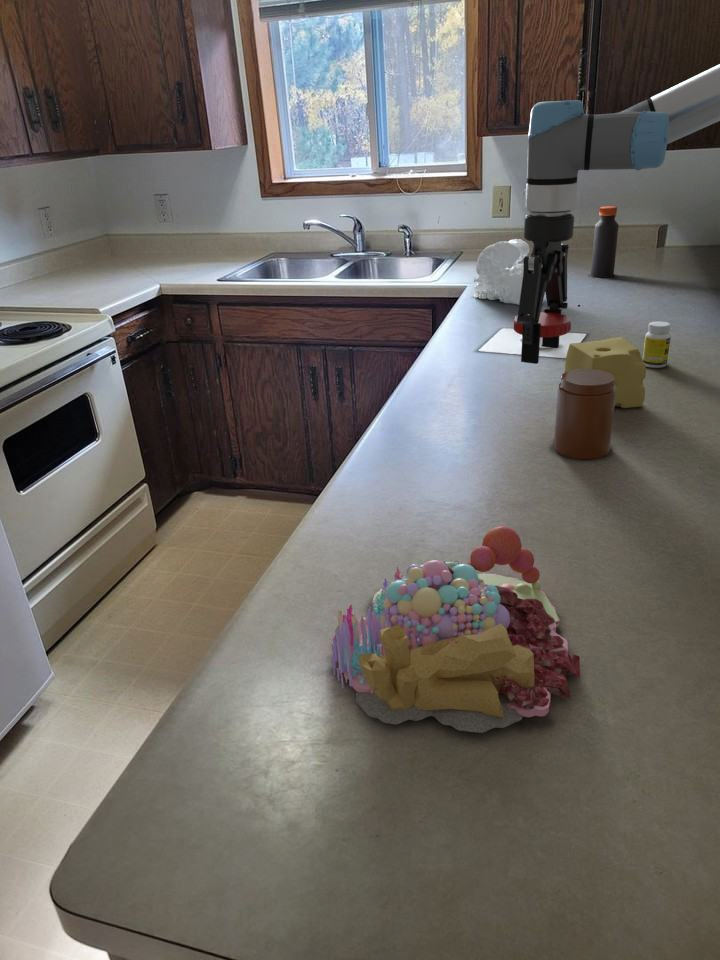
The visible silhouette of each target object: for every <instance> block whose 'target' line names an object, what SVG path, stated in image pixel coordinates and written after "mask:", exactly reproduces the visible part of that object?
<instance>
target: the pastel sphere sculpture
mask: <svg viewBox="0 0 720 960" xmlns="http://www.w3.org/2000/svg"><path fill="white" fill-rule="evenodd" d="M469 559H470V562H469V561H466V562H465V561H464V562H462V561H461V560H452V561H441V560H438V559H432V560H428V561H426V562H424V563H421V564H418V563H417V564H416V563H413V564H410V565H408V567H407V568H406V569H405V575H403V574H402V572H401V570H400V569H399V566H398V565H396V572H395V573H394V575H393V577H394V580H392V581H391V582H388V580H387V579H386V577H385V578H384V582H383V584H382V585H383V586H381V587H380V588H379V590H378V591H377V592H375V593H374V596H373V598H372V599H371V602H372V603H371V605H370V606H369V608H368V609H367V610H366V617H363V615H361V616H360V617H359V619H358V618H357V616H356V614H355V613H354V614H353V605H352V604H353V603H350V605H349V607H348V608H346V614H343V612H342V609H340V608H338V609H337V626H336V628H335V630H334V636H332V644H331V651H332V655H331V659H332V667H333V675H334V676H336V674H337V676H336V677H337V681H338V682H340V681H341V689H342V690H344V689H345V684H344V679H345V683H346V684H347V683H348V682H349V683H348V685H349V687H350V688H352V689H353V690H355V691H356V692H355V701H356V703H357V704H358V705H359V706H360V708H361V709H362V710H363V712H365V714H366V715H367V716H368V717H370V718H376V719H378V720H379V721H380V722H382V723H384V724H391V725H399V724H403V723H404V722H406V721H409V720H410V721H413V722H414V721H415V722H419V721H421V720H424V719H426V718H428V717H433V718H434V719H436V720H437V721H438V722H439V723H440V724H442V725H444V726H451V727H452V728H454V729H455V730H457V731H459V732H469V733H478V734H483V733H486V732H488V731H490V730H492V729H495V728H499V729H504V728H507V727H509V726H511V725H512V724H515V723H517V722H520V721H521V720H522V719H523V717H525V718H532V717H545V716H546V717H547V716H548V714H549V713H550V711H551V709H552V707H553V705H552V703H551V696H552V695H554V696H558V697H561V698H565V699H568V700H570V701H571V700H572V697H571V692H570V687H569V683H568V680H567V678H566V676H567V675H572V676H574V677H576V678H578V679H581V665H580V664H581V661H580V660H581V659H580V656H579V655H577V654H574V653H571V652H570V650H569V645H568V641H569V640H567V639H566V638H564V637H563V636H562V635H560V634H558V633H557V628H558V627H559V626H560V617H559V616H558V614H557V608H556V607H555V606H554V605H552V603H551V601H550V599H549V598H548V597H547V596H546V592H544V591H542V590H541V589H540V588H541V583H540V581H539V579H540V576H541V575H540V574H541V573H540V570H539V569H538V568H537V567H536V566H534V564H535V557H534V554H533V553H532V551H531V550H530V549H528V548H526V547H523V545H522V542H521V537H520V535H519V533H517V532H516V530H514V529H513V528H510V527H508V526H505V525H498V526H495V527H493V528H491V529H489V530H488V531H487V532H486V534H484V536H483V538H482V544H481V545H480V546H477V547H475V548H474V549H472V551H471V553H470V555H469ZM495 565H498V566H507V565H508V566H509V567H510V568H511V569H512V571H513V572H516V573H518V574H521V579H522V580H520V579H519V578H516V577H514V576H513V577H512V576H504V575H500V574H498V573H485V572H490V571H491V570H492V569H493V568H494V567H495ZM478 572H480V573H478ZM337 663H338V667H337Z"/></svg>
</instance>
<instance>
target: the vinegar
mask: <svg viewBox="0 0 720 960" xmlns="http://www.w3.org/2000/svg"><path fill="white" fill-rule="evenodd" d="M617 211H618V207H617V206H613V205H608V206H607V205H605V206H600V207H599V212H598V214H599V216H598V217H599V220H598V221H597V222H596V224H594V233H593V245H592V257H591V268H590V275H591V277H596V278H611V277H613V276H614V275H615V266H616V258H617V257H616V256H617V248H618V247H617V246H618V237H619V227H620V225H619V223H618V222H617V221H616V217H617V214H618V213H617Z"/></svg>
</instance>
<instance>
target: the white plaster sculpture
mask: <svg viewBox="0 0 720 960" xmlns="http://www.w3.org/2000/svg"><path fill="white" fill-rule="evenodd" d="M530 251H531V250H530V244H529V243H528V242H526V241H524V240H523V239H521V238H514V239H510V240H509V241H502V240H500V241H496V242H494V243H493V244H490V245H488V246H486V247H485V248H484V249H482V251H481V252H480V253H479V255H478V256H477V262H476V273H477V275H478V278H476V277H473V283H477V284H475V285H474V288H473V298H476V299H477V298H479V299H481V300H483V299H484V300H485V299H488V300H490V301H496V300H497V299H499V302H501V303H504V304H514V305H517V306H519V303H520V295H521V287H522V280H523V272H524V262H522V261H524V257H525V256H528V254H529V253H530ZM519 262H522V263H519Z"/></svg>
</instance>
